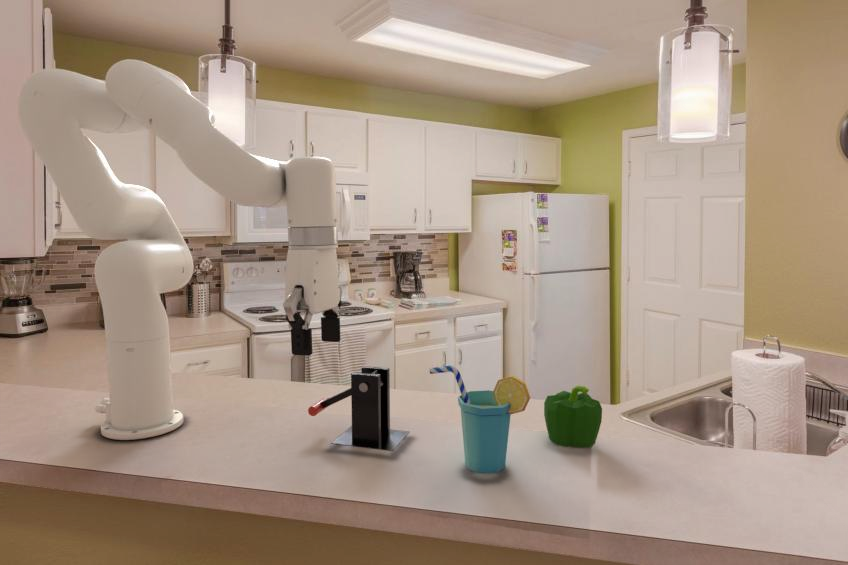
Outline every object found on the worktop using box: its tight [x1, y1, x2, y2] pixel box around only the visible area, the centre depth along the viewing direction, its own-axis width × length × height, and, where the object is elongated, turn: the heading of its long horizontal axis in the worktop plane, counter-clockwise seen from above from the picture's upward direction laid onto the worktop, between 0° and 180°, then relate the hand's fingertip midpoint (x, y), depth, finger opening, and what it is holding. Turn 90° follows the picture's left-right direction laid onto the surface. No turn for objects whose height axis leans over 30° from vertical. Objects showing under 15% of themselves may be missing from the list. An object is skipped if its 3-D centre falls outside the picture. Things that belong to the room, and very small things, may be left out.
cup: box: [428, 364, 531, 475], centre depth 79 cm, size 14×8×15 cm, turn 76°
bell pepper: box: [543, 385, 603, 449], centre depth 88 cm, size 8×8×10 cm
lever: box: [307, 370, 384, 417], centre depth 90 cm, size 12×5×2 cm, turn 71°
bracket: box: [331, 365, 410, 452], centre depth 89 cm, size 10×8×12 cm
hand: (317, 347), depth 90 cm, fingers open, 9 cm apart
